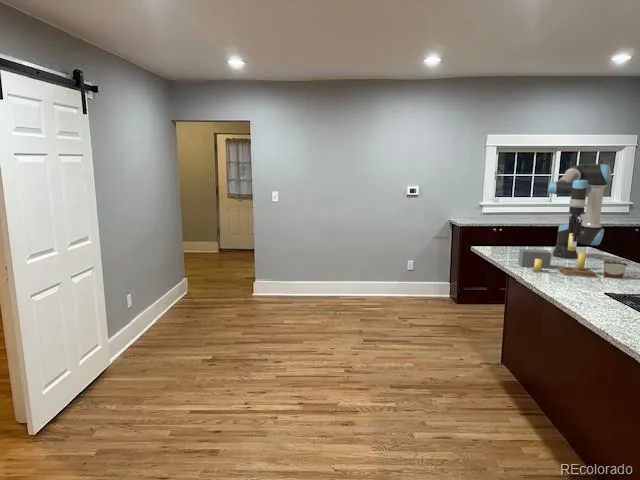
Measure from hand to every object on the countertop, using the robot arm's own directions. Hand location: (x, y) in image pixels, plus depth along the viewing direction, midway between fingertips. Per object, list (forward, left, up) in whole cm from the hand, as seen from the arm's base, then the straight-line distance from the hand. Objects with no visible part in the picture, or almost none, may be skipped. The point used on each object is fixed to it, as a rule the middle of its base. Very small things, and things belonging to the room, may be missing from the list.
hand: (572, 245), depth 251 cm
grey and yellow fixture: (0, -13, -17) cm, 21 cm away
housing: (-13, -16, -17) cm, 26 cm away
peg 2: (-15, +12, -17) cm, 25 cm away
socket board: (0, +4, -17) cm, 17 cm away
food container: (+3, +22, -17) cm, 28 cm away
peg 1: (0, 0, -3) cm, 3 cm away
